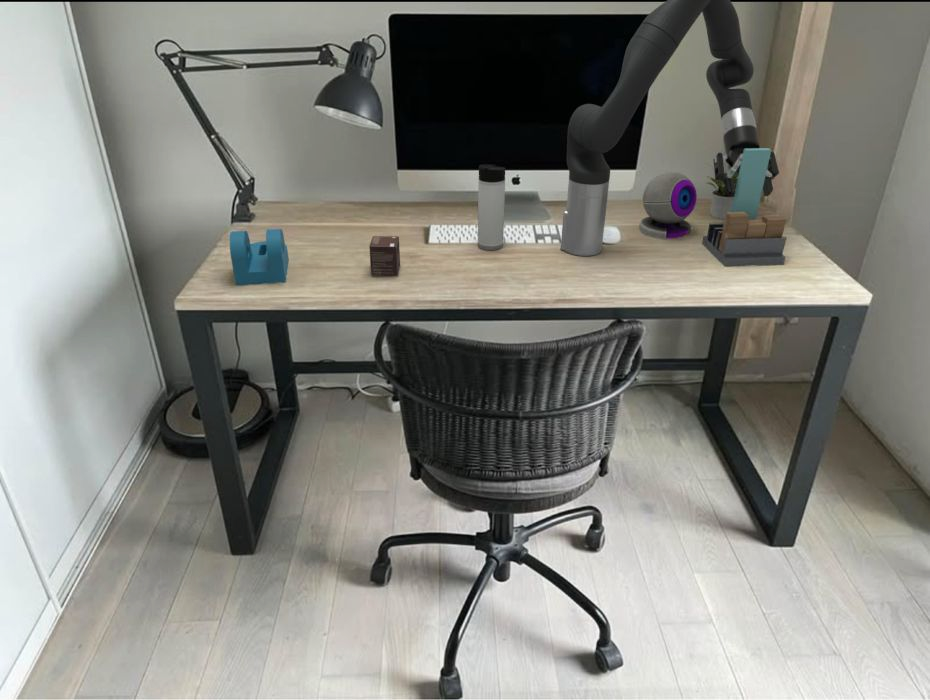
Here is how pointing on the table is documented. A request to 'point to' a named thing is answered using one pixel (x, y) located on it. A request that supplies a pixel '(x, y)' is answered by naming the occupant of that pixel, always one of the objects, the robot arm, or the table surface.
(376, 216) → the table surface
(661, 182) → the webcam
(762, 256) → the rack
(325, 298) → the table surface
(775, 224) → the offcut stack
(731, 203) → the house plant
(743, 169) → the tall sheet
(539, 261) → the table surface
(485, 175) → the travel mug
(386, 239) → the box
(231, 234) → the camera mount
